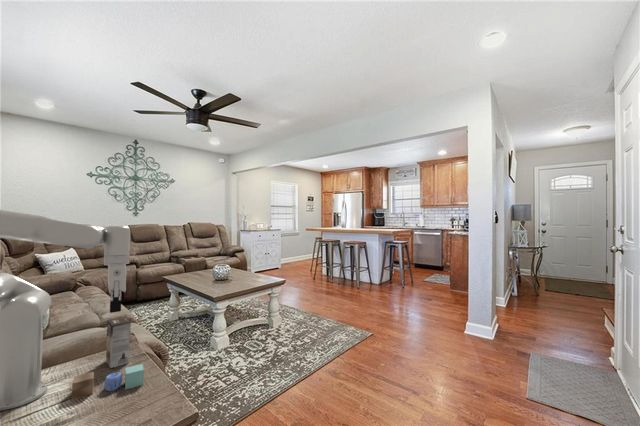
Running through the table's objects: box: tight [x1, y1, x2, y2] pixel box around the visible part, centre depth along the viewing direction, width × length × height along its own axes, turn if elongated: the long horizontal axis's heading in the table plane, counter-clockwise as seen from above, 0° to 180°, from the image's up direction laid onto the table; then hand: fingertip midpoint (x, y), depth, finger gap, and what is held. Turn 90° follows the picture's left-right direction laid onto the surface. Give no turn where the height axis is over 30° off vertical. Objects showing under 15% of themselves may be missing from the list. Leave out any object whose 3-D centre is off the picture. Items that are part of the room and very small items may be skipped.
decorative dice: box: [103, 372, 123, 392], centre depth 93 cm, size 4×4×4 cm
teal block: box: [124, 363, 145, 390], centre depth 96 cm, size 5×5×5 cm
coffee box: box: [105, 316, 132, 369], centre depth 111 cm, size 9×6×16 cm
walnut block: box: [71, 371, 95, 401], centre depth 90 cm, size 5×5×5 cm
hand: (115, 311), depth 101 cm, fingers closed
